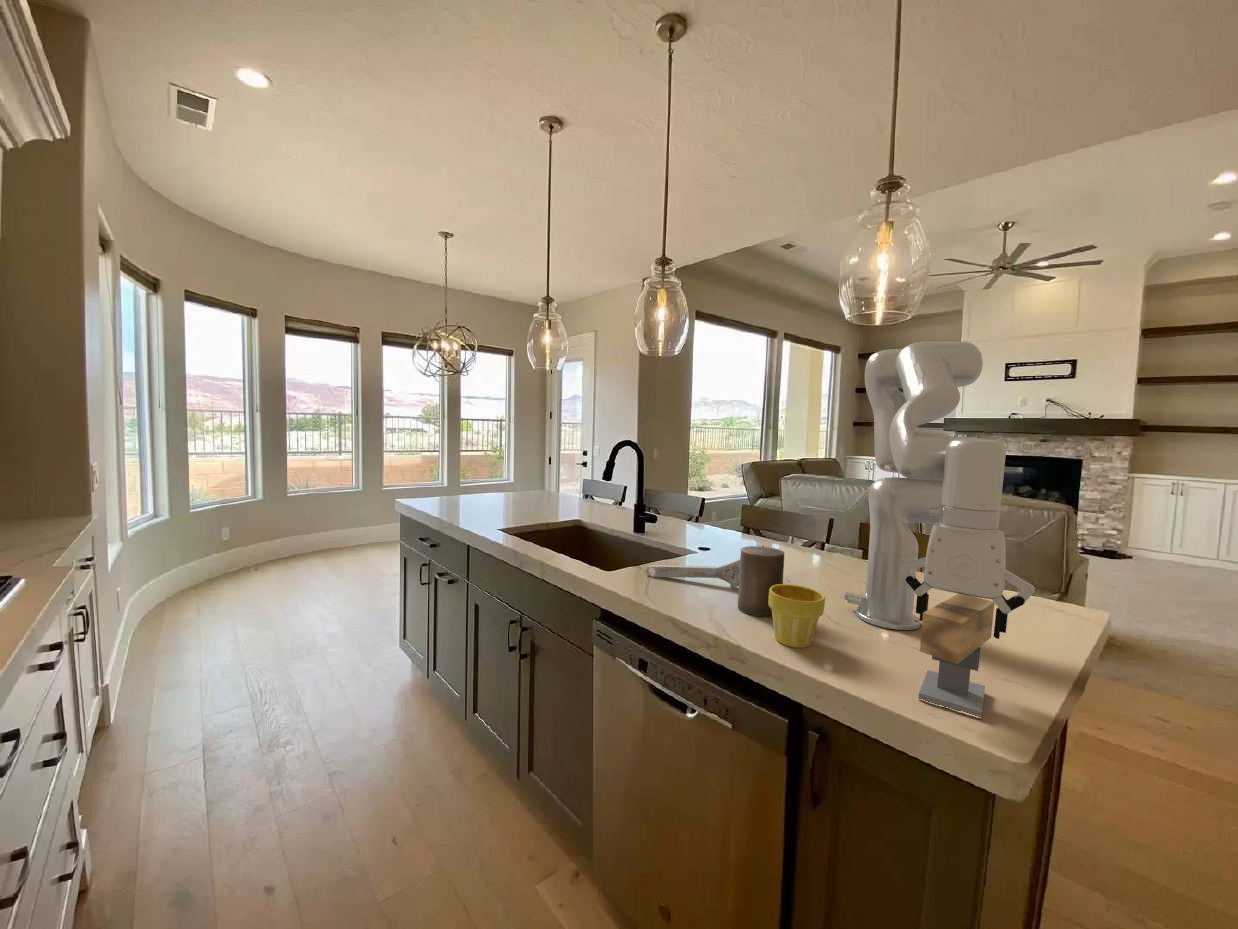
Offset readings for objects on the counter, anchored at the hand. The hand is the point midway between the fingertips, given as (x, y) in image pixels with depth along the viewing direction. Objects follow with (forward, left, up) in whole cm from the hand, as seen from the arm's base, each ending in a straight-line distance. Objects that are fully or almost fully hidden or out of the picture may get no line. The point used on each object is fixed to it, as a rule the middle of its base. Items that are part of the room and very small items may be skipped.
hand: (958, 627), depth 80 cm
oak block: (0, 0, -3) cm, 3 cm away
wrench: (-58, +24, -12) cm, 64 cm away
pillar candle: (-38, +16, -12) cm, 43 cm away
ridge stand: (0, 0, -11) cm, 11 cm away
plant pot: (-26, +4, -12) cm, 29 cm away
